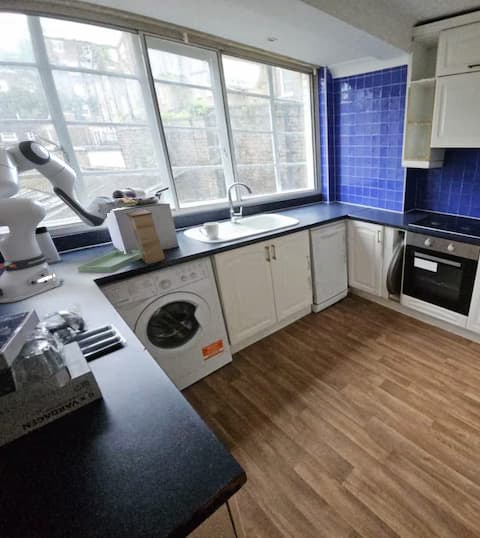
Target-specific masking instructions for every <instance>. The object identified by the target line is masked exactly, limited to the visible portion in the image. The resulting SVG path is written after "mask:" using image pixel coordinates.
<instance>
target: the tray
mask: <svg viewBox="0 0 480 538" xmlns="http://www.w3.org/2000/svg"><path fill="white" fill-rule="evenodd" d="M124 251H125V250H114V251H111V252H109V253H107V254H105V255H102V256H100V257H97V258H95V259H93V260H90V261H88V262H85V263H83V264H81V265H78V266H76V268H77V271H78V273H114V272H116V271H118V270H121V269H123V268H125V267H127V266H129V265H131V264H133V263H135V262H137V261H139V260H142V258H141V255H140V252H139V250H131V251H132V254H124Z"/></svg>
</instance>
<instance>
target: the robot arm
mask: <svg viewBox="0 0 480 538" xmlns="http://www.w3.org/2000/svg"><path fill="white" fill-rule="evenodd" d="M34 169H35V171H37V172H38V173H39V174H40V175H42V176H43V177H45V178H46V179H47V180H48V181H49V183H51V186H52V188H53V192H54V194H55V195H56V196H57V197H58V198H59V199H60V200H61V201H62V202H63V204H65V205H66V206H67V207H68V208H69V209H70V210H71V211H73V213H75V214H76V215H77V216H78V218H79V220H81V221H82V222H83V223H84V224H86V225H87V226H89V227H101V226H103V224H104V223H105V221H106V219H108V217H107V213H110V211H111V210H112V209H116V208H122V207H127V206H131V205H135V204H129V205H125V204H123V202H120V200H119V199H120V198H116V199H115V200H114V199H112V198H110V197H108V196H96V197H95V198H94V199H93V201H91V203H90V204H88V206H87V207H86V208H85V206H84V205H83V204H82V203H80V201H79V200H77V198H76V196H75V194H74V191H75V186H76V184H77V174H76V172H75V171H74V170H73V168H71V167H70V166H69V165H68V164H67V163H66V162H64V160H62V159H61V158H60V157H58V156H56V155H55V154H53V153H51V152H50V151H49V150H48V149H47V148H46V147H45V146H44V145H42V144H41V143H39V142H36V141H34V140H23V141H20V142H18V143H13V144H9V145H7V146H4V147H0V228H1V227H2V228H3V227H7V228H8V232H9V233H6V234H5V235H3V236H2V237H0V253H1V256H2V257H3V259H4V262H3V263H0V270H3V269H4V271H3V272H2V274H1V275H0V304H7V303H16V302H19V301H23V300H26V299H28V298H30V297H34V296H36V295H39V294H42V293H44V292H47V291H49V290H52V289H54V288H57V287H59V286H61V282H62V281H61V279H60V278H59V277H58V276H57V274H55V272H54V271H53V269H52V268H51V267H50V264H47V259H46V257H45V255H44V254H43V253H42V252H41V250H40V248H39V246H38V243H37V240H36V237H35V231H36V228H38V227H39V225H40V223H41V222H43V221H44V219H45V218H46V215H47V209H46V208H45V206H44V204H43V203H41V201H39V200H38V199H36V198H31V197H17V196H16V197H14V196H15V195H17V194H18V193H19V191H20V189H21V187H20V177H19V174H20V173H23V172H28V171H31V170H34ZM124 199H127V200H130V199H131V198H129V197H125V198H124ZM113 200H114V201H113Z"/></svg>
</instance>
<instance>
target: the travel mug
mask: <svg viewBox="0 0 480 538" xmlns="http://www.w3.org/2000/svg"><path fill="white" fill-rule="evenodd" d="M35 237H36V240H37V243H38V246H39V248H40V250H41V252H42V253H43V254H44V255H45V257H46V259H47V264H48V265H53V264H57V263H60V262H62V258H61V257H60V254H59V252H58V250H57V247H56V246H55V243H54V241H53V239H52V237H51V235H50V232H49V230H48V229H47V226H46V225H45V226H43V225H42V226H37V228H36V231H35Z"/></svg>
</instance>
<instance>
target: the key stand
mask: <svg viewBox="0 0 480 538" xmlns="http://www.w3.org/2000/svg"><path fill="white" fill-rule="evenodd" d="M125 214H126V215H127V217H128V222H129V225H130V228H131V231H132V235H133V238H134V240H135V243H136V245H137V249H138V251H139V252H140V255H141V260H142V262H145V263H146V264H148V265H151V264H154V263H158V262H161V261H165V260H166V257H165V254H164V250H163V247H162V245H161V241H160V238H159V234H158V231H157V228H156V225H155V221H154V218H153V212H151V211H148V210H146V209H143V210H142V209H141V210H140V211H136V212H129V213H125Z"/></svg>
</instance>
